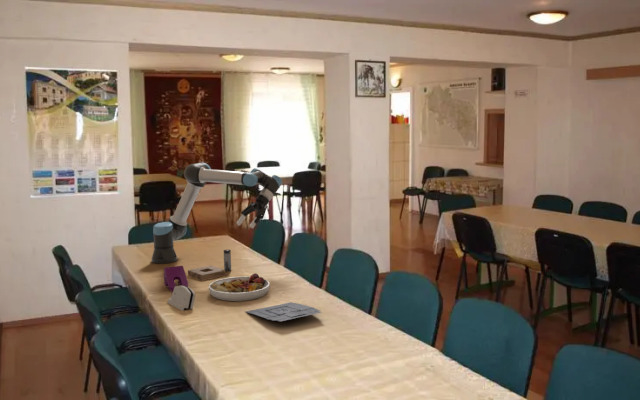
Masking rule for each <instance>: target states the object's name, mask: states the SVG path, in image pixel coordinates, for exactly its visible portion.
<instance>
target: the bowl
mask: <svg viewBox="0 0 640 400" xmlns="http://www.w3.org/2000/svg"><path fill="white" fill-rule="evenodd" d="M270 286H271V285H270V281H269V280H267V279H265V278H264V277H262V276H260V275H259V274H258V273H252V274H251V275H250V276H232V277H231V276H230V277H224V278H222V279H217V280H214V281H212V282H211V283H209V285H208V291H209V293H210V295H211V296H212V297H213V298H215V299H218V300H222V301H226V302H245V301H246V302H247V301H251V300H255V299H259V298H262V297H263V296H265V295H266V294H267V293H268V292H269V290H270Z"/></svg>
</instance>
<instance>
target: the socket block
mask: <svg viewBox="0 0 640 400" xmlns="http://www.w3.org/2000/svg"><path fill="white" fill-rule="evenodd" d="M187 276H188V277H191V278H194V279H197V280H199V281H206V280H211V279H215V278H221V277H224V276H226V271H225V270H224V268H223V269H222V268H220V267H216V266H214V265H208V266H204V267H203V266H202V267H198V268H193V269H192V268H191V269H187Z"/></svg>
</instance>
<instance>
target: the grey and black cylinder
mask: <svg viewBox="0 0 640 400" xmlns="http://www.w3.org/2000/svg"><path fill="white" fill-rule="evenodd" d="M231 250H232V249H224V250H223V270H225V272H231V271H232V255H231V253H232V251H231Z"/></svg>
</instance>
